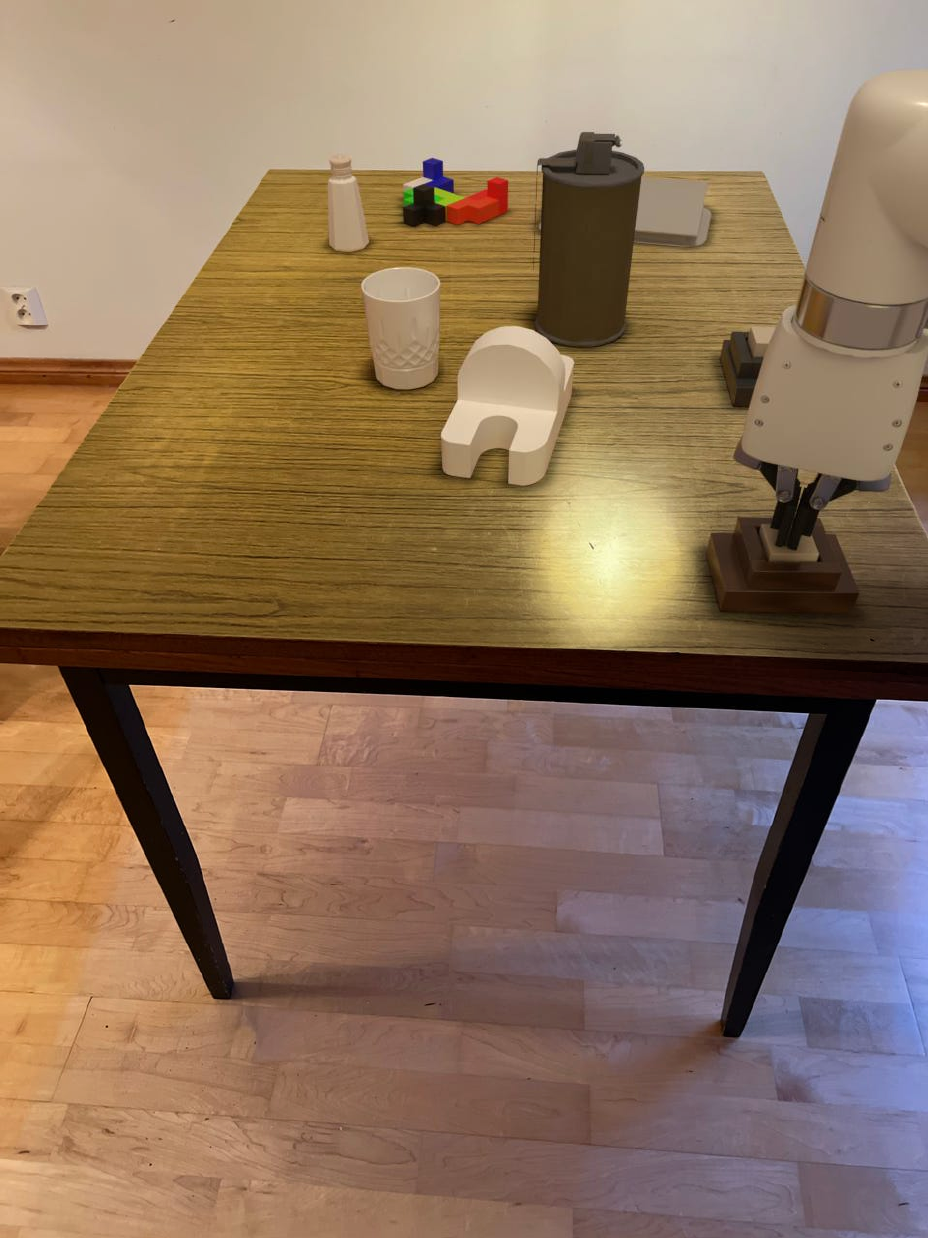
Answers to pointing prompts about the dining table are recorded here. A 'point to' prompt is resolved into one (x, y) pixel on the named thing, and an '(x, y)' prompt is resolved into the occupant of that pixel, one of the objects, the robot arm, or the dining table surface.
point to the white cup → (403, 325)
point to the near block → (778, 574)
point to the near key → (784, 553)
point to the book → (671, 212)
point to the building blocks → (450, 199)
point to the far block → (740, 368)
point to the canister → (586, 241)
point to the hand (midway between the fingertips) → (788, 537)
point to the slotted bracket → (508, 404)
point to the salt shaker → (345, 208)
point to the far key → (759, 340)
